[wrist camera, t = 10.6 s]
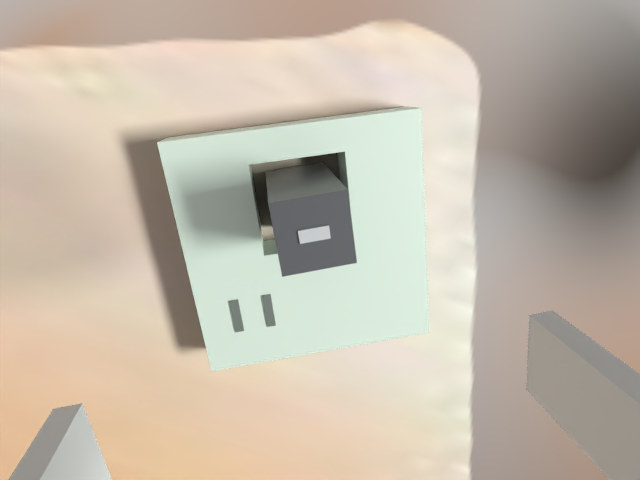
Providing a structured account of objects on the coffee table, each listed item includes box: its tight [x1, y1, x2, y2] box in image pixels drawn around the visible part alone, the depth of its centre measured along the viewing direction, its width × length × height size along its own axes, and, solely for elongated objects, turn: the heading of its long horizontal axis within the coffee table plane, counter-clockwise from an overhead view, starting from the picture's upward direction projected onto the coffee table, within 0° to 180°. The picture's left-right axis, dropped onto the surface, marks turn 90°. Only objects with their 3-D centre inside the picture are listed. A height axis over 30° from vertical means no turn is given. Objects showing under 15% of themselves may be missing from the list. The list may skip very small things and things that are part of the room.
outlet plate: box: [157, 107, 429, 371], centre depth 30 cm, size 16×16×3 cm
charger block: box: [266, 162, 357, 277], centre depth 26 cm, size 4×4×9 cm
